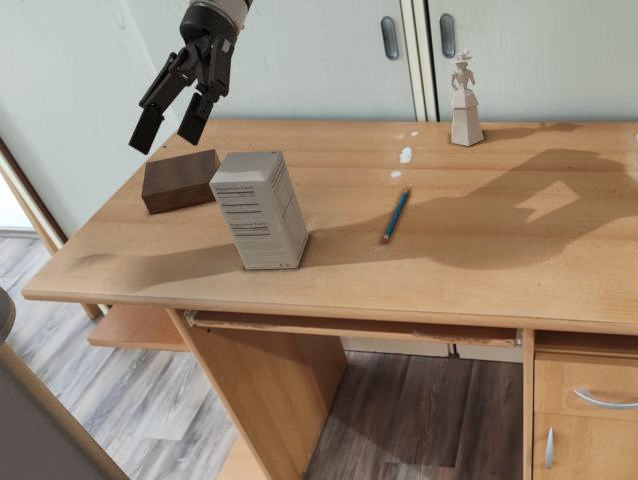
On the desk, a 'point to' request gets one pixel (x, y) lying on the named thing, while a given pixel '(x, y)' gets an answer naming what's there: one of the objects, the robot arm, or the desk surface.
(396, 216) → the pencil
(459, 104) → the figurine
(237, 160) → the supplement box
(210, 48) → the robot arm
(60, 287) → the desk surface
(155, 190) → the block
